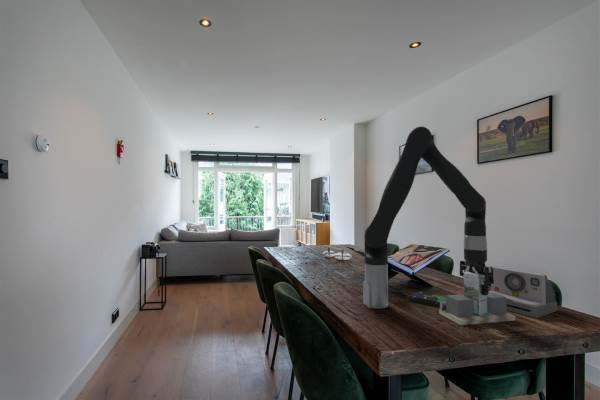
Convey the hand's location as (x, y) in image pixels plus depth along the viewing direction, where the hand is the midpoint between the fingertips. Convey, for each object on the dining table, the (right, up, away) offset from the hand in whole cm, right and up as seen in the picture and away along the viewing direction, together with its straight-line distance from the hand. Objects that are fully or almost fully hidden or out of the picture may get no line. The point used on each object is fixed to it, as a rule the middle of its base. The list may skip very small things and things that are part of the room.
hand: (475, 291), depth 117 cm
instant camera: (+24, -10, +11) cm, 28 cm away
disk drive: (-9, -10, +18) cm, 23 cm away
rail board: (0, -9, 0) cm, 9 cm away
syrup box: (0, -8, 0) cm, 8 cm away
